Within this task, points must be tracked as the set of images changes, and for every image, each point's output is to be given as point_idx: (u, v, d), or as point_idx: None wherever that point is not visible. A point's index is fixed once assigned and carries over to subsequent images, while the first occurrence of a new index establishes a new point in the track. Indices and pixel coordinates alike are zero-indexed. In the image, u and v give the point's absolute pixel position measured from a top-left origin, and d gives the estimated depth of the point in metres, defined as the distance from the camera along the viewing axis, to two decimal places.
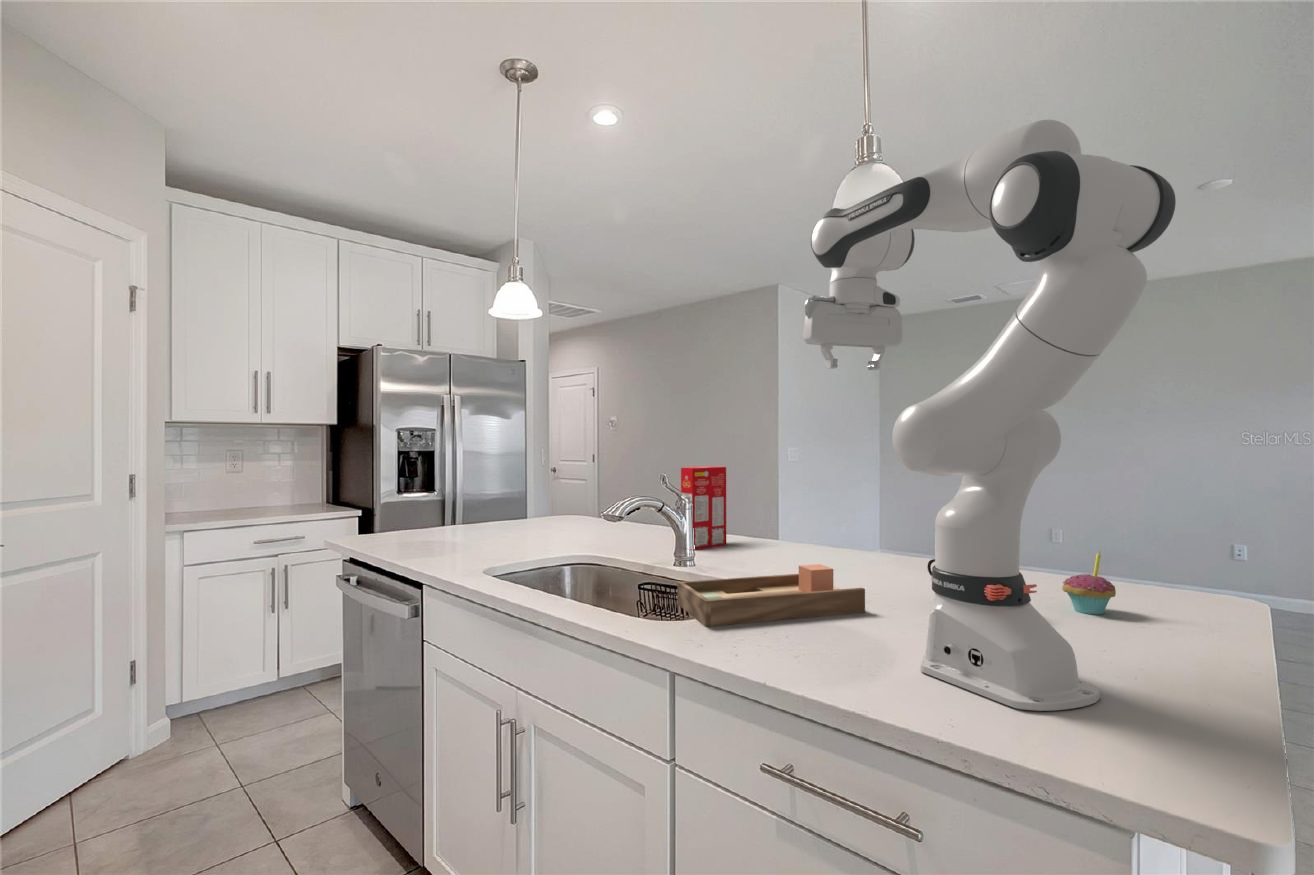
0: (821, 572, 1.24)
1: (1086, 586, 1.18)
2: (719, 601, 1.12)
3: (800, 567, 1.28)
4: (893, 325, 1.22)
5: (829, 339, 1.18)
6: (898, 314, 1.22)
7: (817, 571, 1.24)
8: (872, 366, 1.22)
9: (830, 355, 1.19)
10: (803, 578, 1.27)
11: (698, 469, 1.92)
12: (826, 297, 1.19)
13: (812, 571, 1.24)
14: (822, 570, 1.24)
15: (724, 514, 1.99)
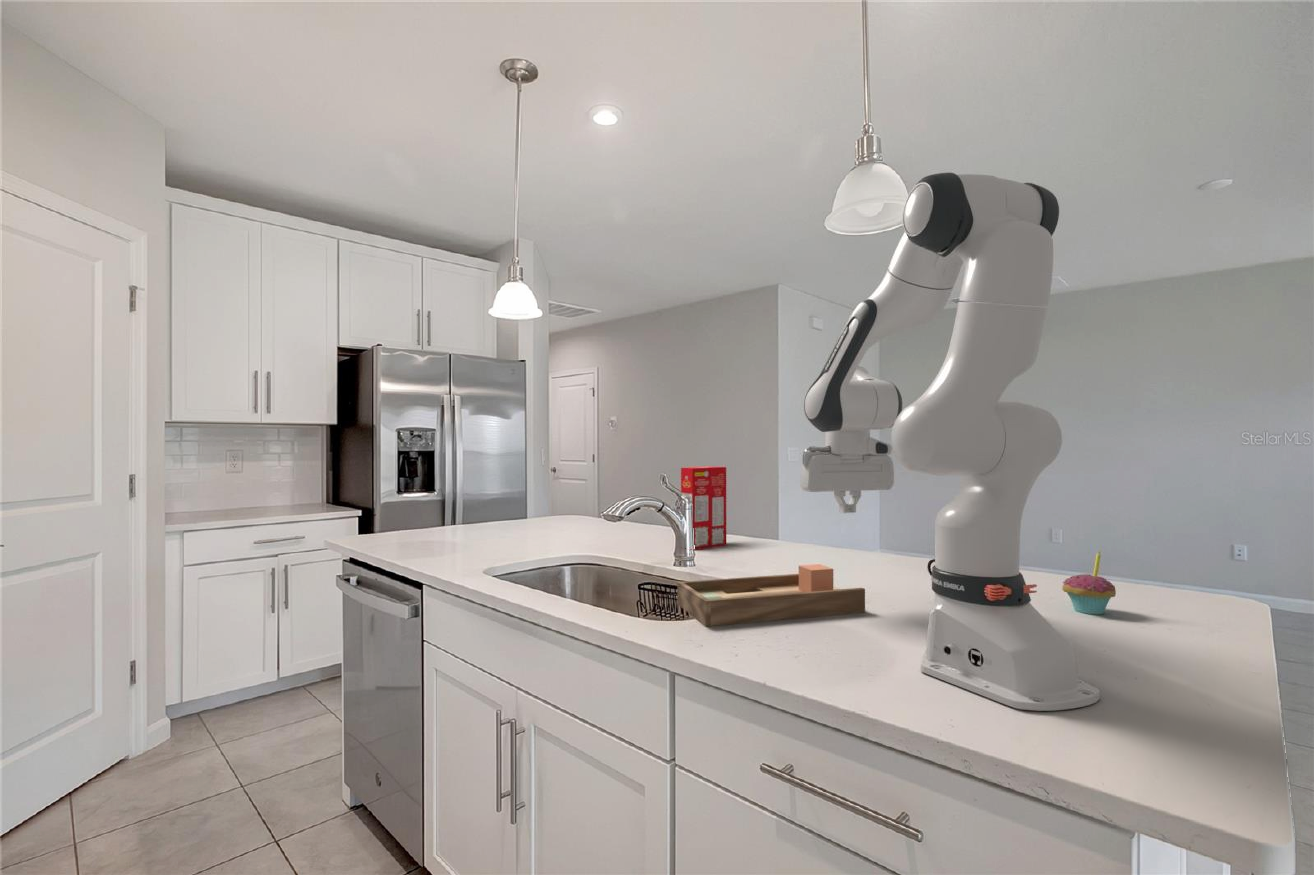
0: (821, 572, 1.24)
1: (1086, 586, 1.18)
2: (719, 601, 1.12)
3: (800, 567, 1.28)
4: (885, 471, 1.30)
5: (825, 489, 1.26)
6: (890, 461, 1.29)
7: (817, 571, 1.24)
8: (849, 510, 1.29)
9: (843, 502, 1.28)
10: (803, 578, 1.27)
11: (698, 469, 1.92)
12: (822, 447, 1.27)
13: (812, 571, 1.24)
14: (822, 570, 1.24)
15: (724, 514, 1.99)
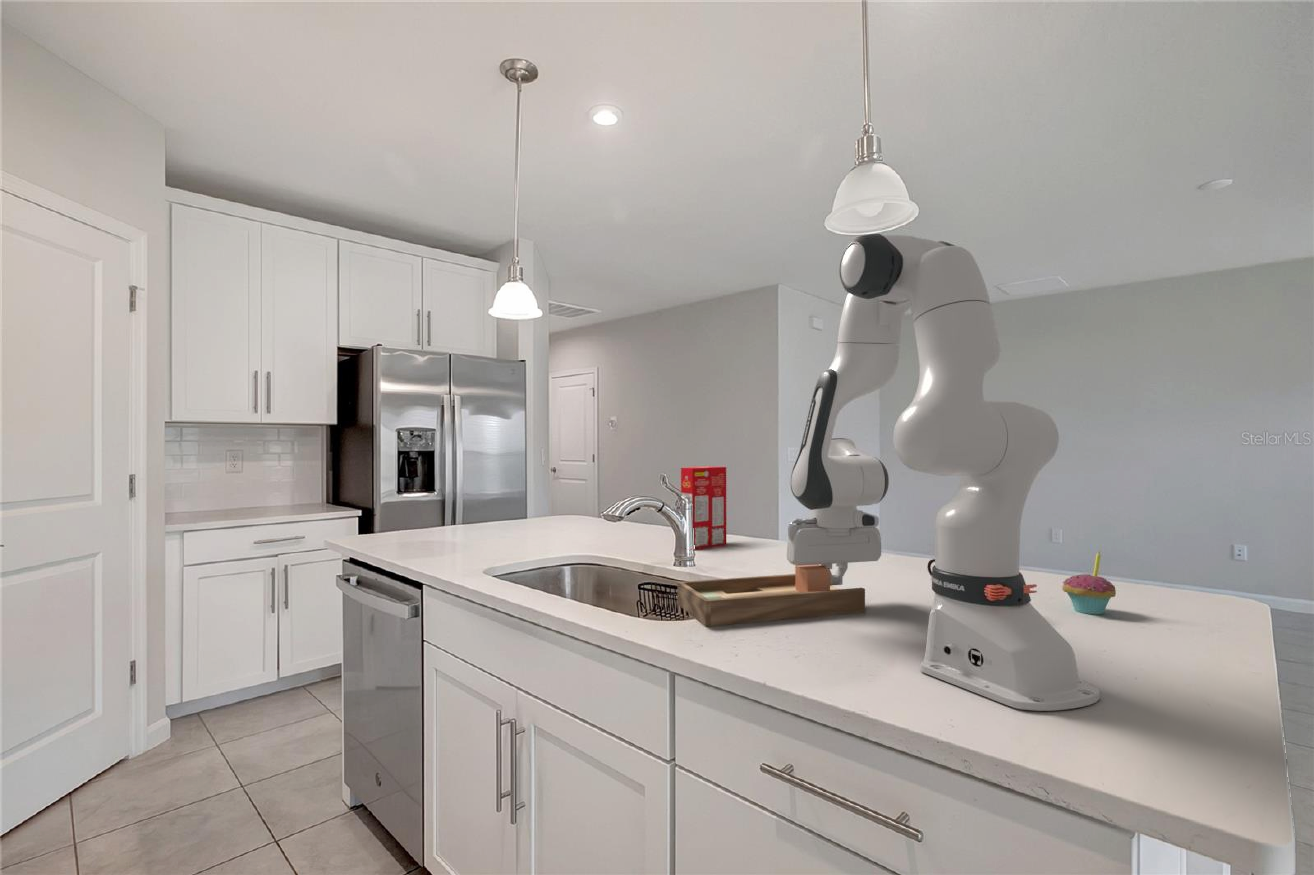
0: (817, 572, 1.24)
1: (1086, 586, 1.18)
2: (719, 601, 1.12)
3: (797, 567, 1.28)
4: (872, 542, 1.28)
5: (811, 562, 1.25)
6: (877, 532, 1.28)
7: (813, 571, 1.24)
8: None
9: (830, 574, 1.27)
10: (800, 578, 1.27)
11: (698, 469, 1.92)
12: (808, 520, 1.26)
13: (808, 571, 1.24)
14: (818, 570, 1.24)
15: (724, 514, 1.99)
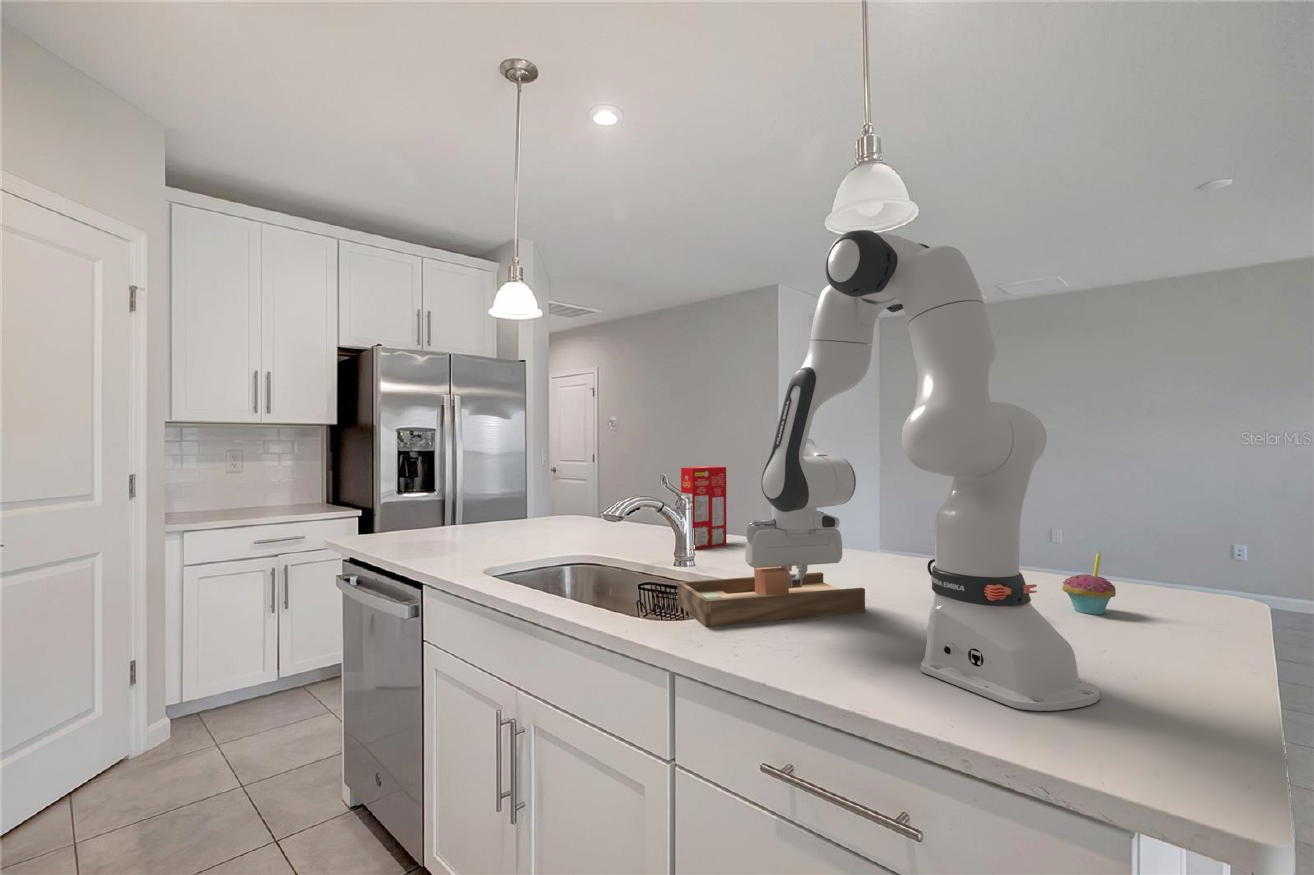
0: (775, 574, 1.22)
1: (1086, 586, 1.18)
2: (719, 601, 1.12)
3: (755, 569, 1.25)
4: (833, 544, 1.26)
5: (769, 564, 1.22)
6: (837, 534, 1.26)
7: (771, 573, 1.22)
8: (795, 585, 1.25)
9: (789, 577, 1.24)
10: (758, 581, 1.24)
11: (698, 469, 1.92)
12: (767, 521, 1.24)
13: (766, 574, 1.21)
14: (776, 572, 1.22)
15: (724, 514, 1.99)
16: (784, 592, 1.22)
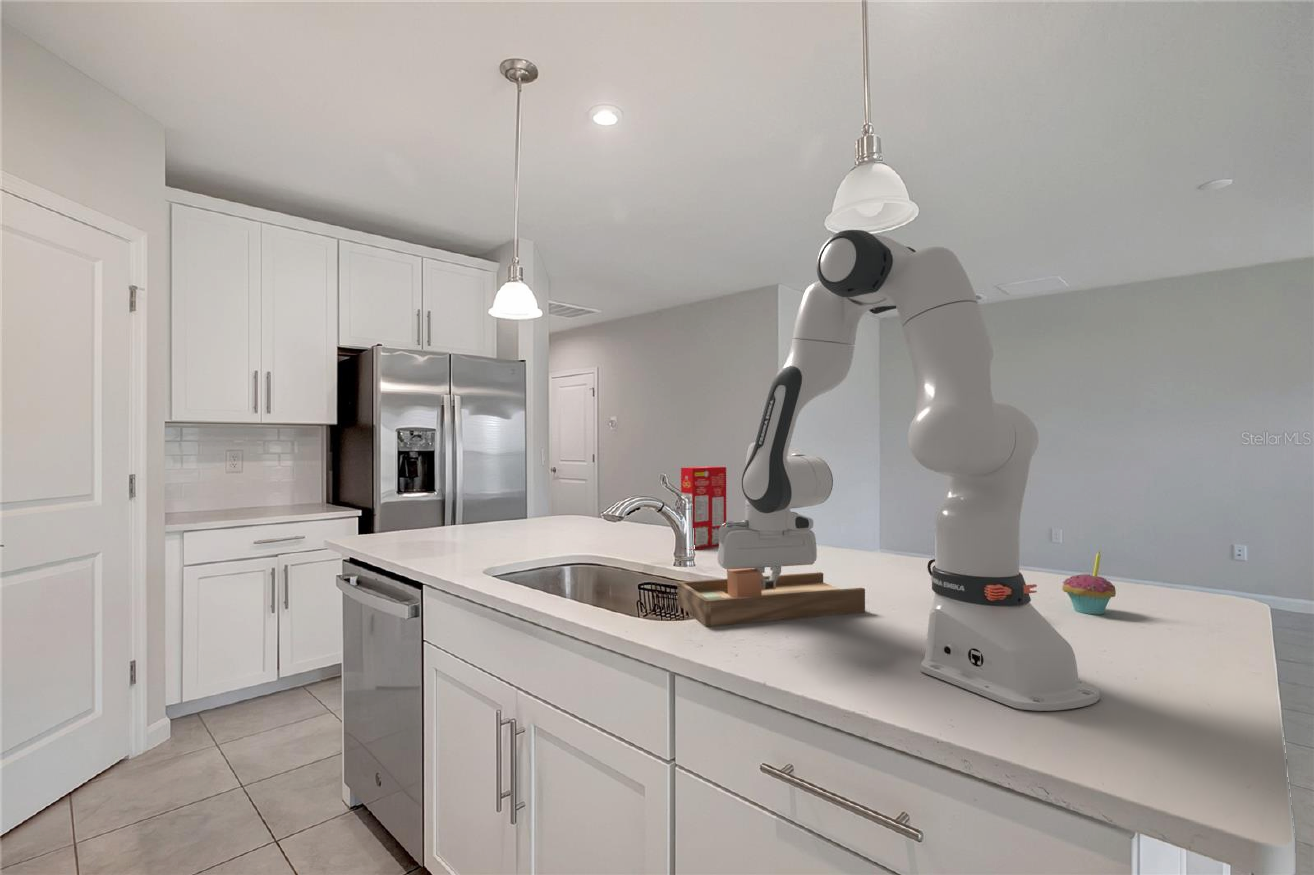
0: (748, 576, 1.20)
1: (1086, 586, 1.18)
2: (719, 601, 1.12)
3: (728, 571, 1.24)
4: (807, 545, 1.24)
5: (741, 566, 1.21)
6: (811, 535, 1.24)
7: (743, 575, 1.20)
8: (768, 586, 1.23)
9: (762, 578, 1.23)
10: (731, 582, 1.23)
11: (698, 469, 1.92)
12: (739, 522, 1.22)
13: (738, 575, 1.20)
14: (749, 574, 1.20)
15: (724, 514, 1.99)
16: (756, 594, 1.21)
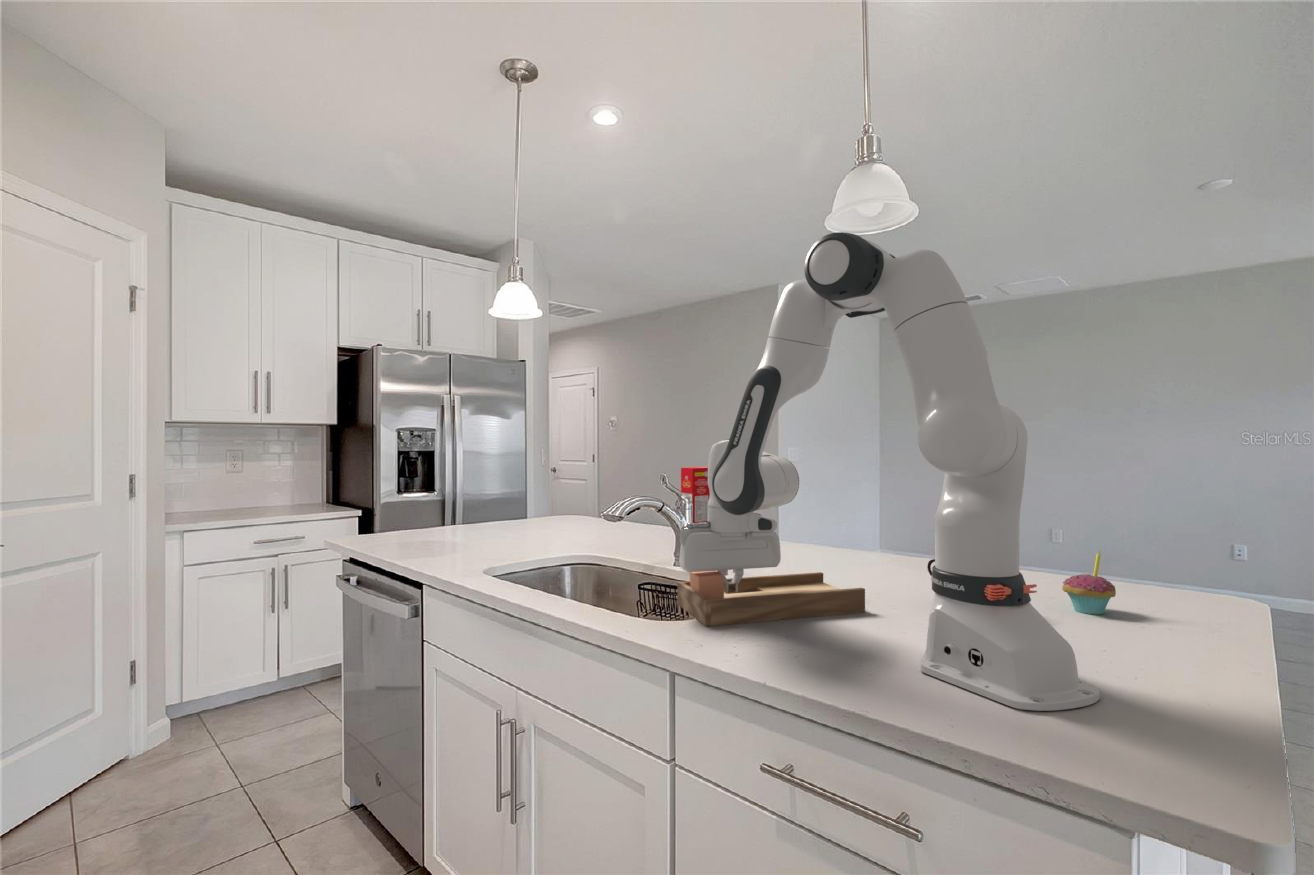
0: (710, 579, 1.18)
1: (1086, 586, 1.18)
2: (719, 601, 1.12)
3: (691, 573, 1.22)
4: (770, 547, 1.22)
5: (703, 568, 1.18)
6: (775, 537, 1.22)
7: (705, 578, 1.18)
8: (730, 589, 1.21)
9: (725, 581, 1.20)
10: (693, 585, 1.20)
11: (698, 469, 1.92)
12: (701, 524, 1.20)
13: (700, 578, 1.18)
14: (711, 576, 1.18)
15: None
16: (719, 597, 1.19)
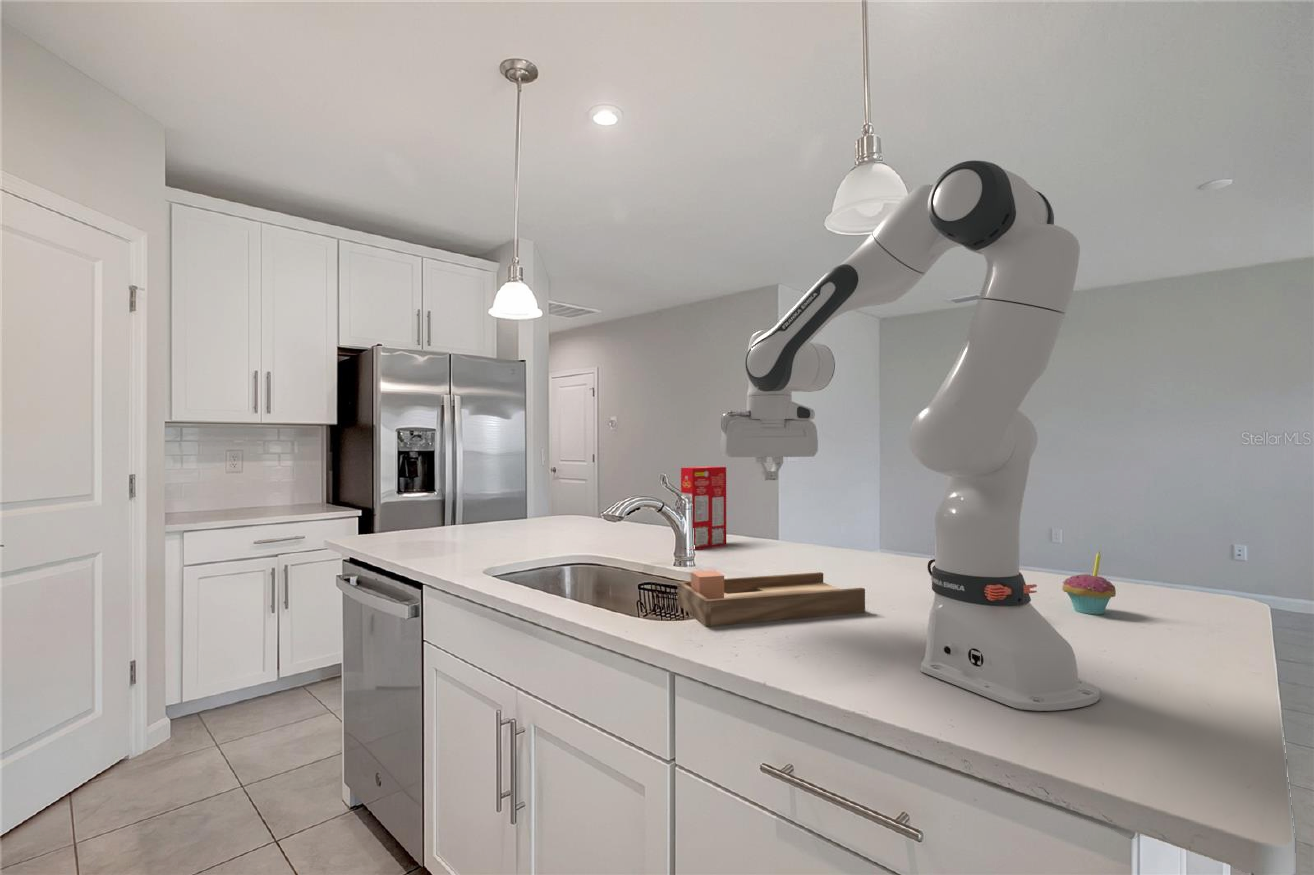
0: (710, 579, 1.18)
1: (1086, 586, 1.18)
2: (719, 601, 1.12)
3: (692, 573, 1.22)
4: (808, 436, 1.25)
5: (744, 454, 1.21)
6: (813, 426, 1.25)
7: (706, 578, 1.18)
8: (770, 477, 1.24)
9: (764, 468, 1.23)
10: (694, 585, 1.20)
11: (698, 469, 1.92)
12: (742, 412, 1.23)
13: (700, 578, 1.18)
14: (711, 577, 1.18)
15: (724, 514, 1.99)
16: (719, 597, 1.19)
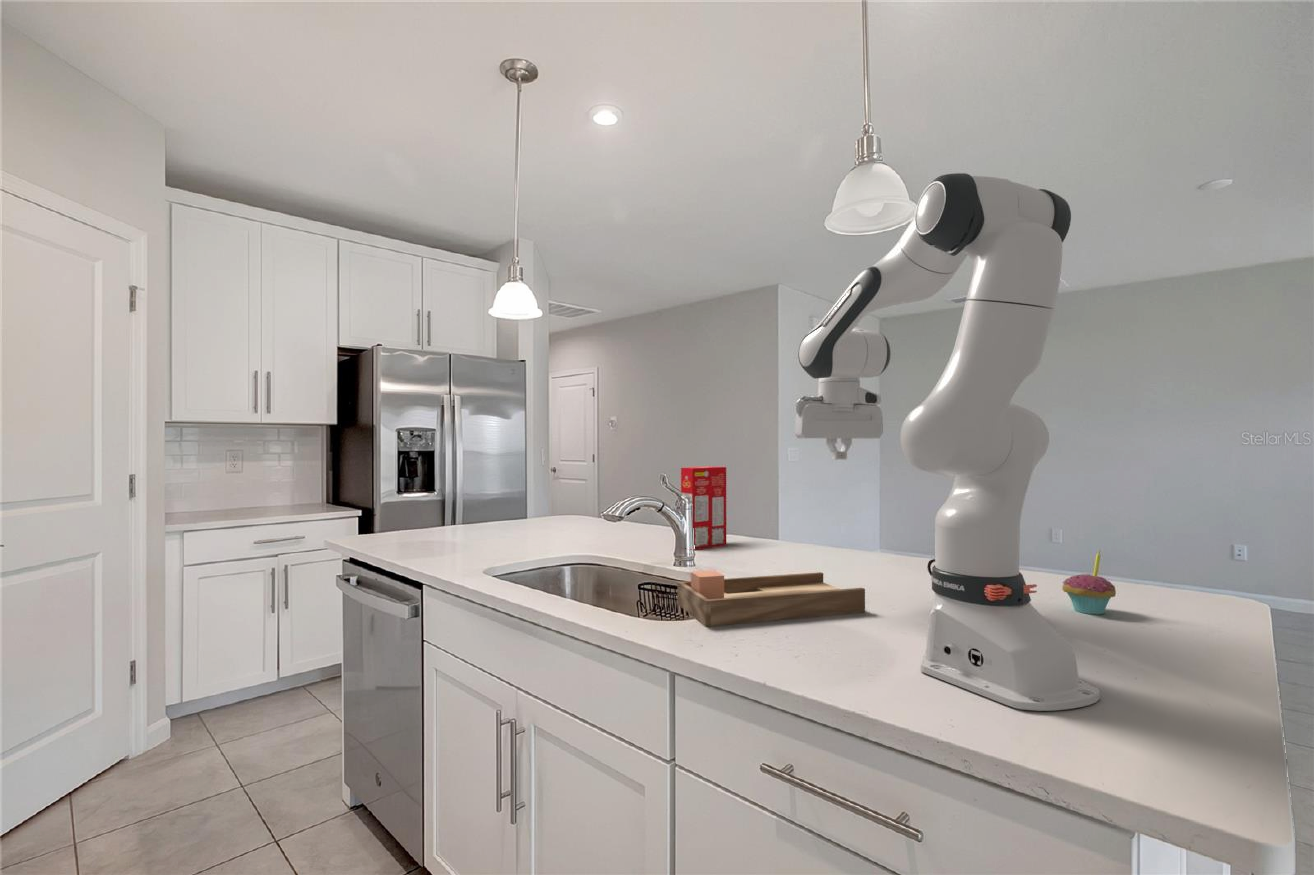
0: (710, 579, 1.18)
1: (1086, 586, 1.18)
2: (719, 601, 1.12)
3: (692, 573, 1.22)
4: (874, 420, 1.37)
5: (817, 435, 1.33)
6: (879, 410, 1.37)
7: (706, 578, 1.18)
8: None
9: (835, 449, 1.35)
10: (694, 585, 1.20)
11: (698, 469, 1.92)
12: (815, 397, 1.34)
13: (700, 578, 1.18)
14: (711, 577, 1.18)
15: (724, 514, 1.99)
16: (719, 597, 1.19)
